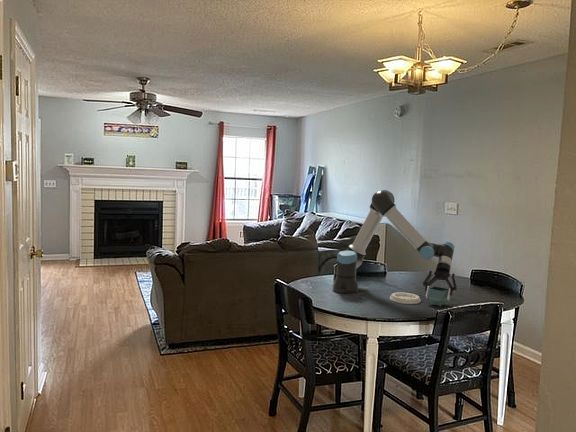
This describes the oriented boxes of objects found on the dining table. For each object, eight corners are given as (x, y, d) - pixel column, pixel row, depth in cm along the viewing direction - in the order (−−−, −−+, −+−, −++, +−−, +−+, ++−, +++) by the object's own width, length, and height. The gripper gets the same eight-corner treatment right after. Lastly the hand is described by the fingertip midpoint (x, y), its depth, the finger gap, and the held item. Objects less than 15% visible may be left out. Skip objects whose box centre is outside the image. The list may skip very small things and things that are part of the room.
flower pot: (433, 301, 278) (434, 286, 277) (448, 304, 272) (449, 288, 272) (426, 304, 271) (427, 288, 270) (442, 307, 266) (443, 291, 265)
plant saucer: (403, 305, 267) (403, 300, 267) (383, 297, 282) (383, 293, 282) (427, 302, 275) (427, 298, 275) (406, 295, 290) (406, 291, 290)
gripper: (465, 272, 279) (459, 305, 266) (423, 267, 289) (416, 298, 277) (464, 264, 274) (459, 297, 261) (422, 259, 284) (414, 291, 271)
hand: (437, 298), depth 269 cm, fingers open, 11 cm apart
